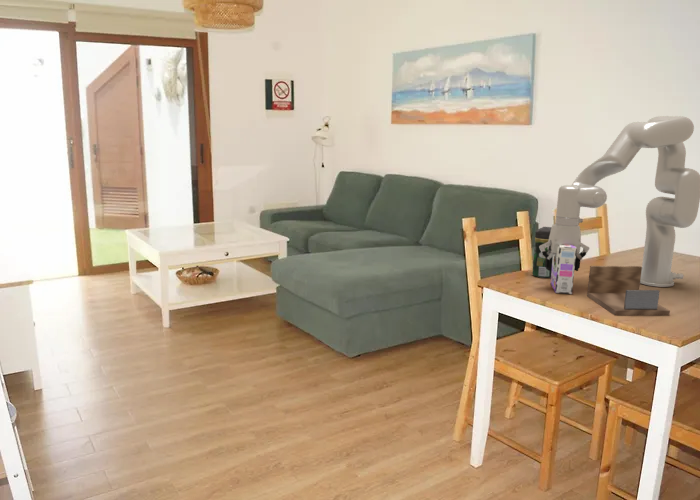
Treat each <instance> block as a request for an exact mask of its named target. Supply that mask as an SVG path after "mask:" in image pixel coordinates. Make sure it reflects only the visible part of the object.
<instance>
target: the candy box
mask: <svg viewBox="0 0 700 500" xmlns="http://www.w3.org/2000/svg"><path fill="white" fill-rule="evenodd" d="M576 251H577V248H576V247H575V246H574V245H558V248H557V254H554V255H553V259H552V272H551V278H550V285H551V288H552V289H553V291H554V293H555V294H565V295H573V291H574V290H573V288H574V286H573V285H574V279H575V260H576Z"/></svg>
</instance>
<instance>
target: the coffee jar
mask: <svg viewBox="0 0 700 500" xmlns="http://www.w3.org/2000/svg"><path fill="white" fill-rule="evenodd" d="M551 228H552V226H542V227H540V228H537V229H536V230H535V234H534V236H535V237H534V247H533V249H534V250H533V260H532V261H533V262H532V276H533V277H538V278H541V279H546V278H548V279H551V272H552V265H551V270H550V271H548V270H547V269H546V267H545V260H546V258H545V257H544V255H543V254H542V253H541V251H540V248H539V246H540V245H542V244H544V243H547V242H548V241H549V236H550V232H551ZM545 252H546V253H547V252H548V247H546V248H545ZM552 259H553V256H552V258H551V260H552Z"/></svg>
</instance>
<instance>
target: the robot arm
mask: <svg viewBox="0 0 700 500" xmlns="http://www.w3.org/2000/svg"><path fill="white" fill-rule="evenodd" d="M694 130H695V126H694V122H693V121H692V120H691V119H690V118H689V117H687V116H681V115H680V116H678V115H675V116H673V115H672V116H669V115H663V116H662V115H661V116H660V115H658V116H653V117H651V118H649V120H647V121H637V122H636V121H635V122H634V121H633V122H629V123H628V124H626V125H625V126H624V127H623V129H622V130H621V131H620V133H619V134H618V135H617V137H616V138H615V139H614V140H613V142H612V143H611V145H610V146H609V148H607V150H606V151H605V153H604V154H603V155H602V156H601V157H599V158H597V159H596V160H595V161H593V162H592V163H591V164H590V165H588V166H586V167H585V168H584V169H583V170H581V172H580V173H579V174H578V176H577V177H576V178H575V179H574V181H573V182H572V184H570V185H568V184H566V185H561V186H560V187H559V188H558V192H557V193H558V194H557V201H556V202H557V203H556V213H555V224H552V226H551V227H552V228H551V232H550V236H549V241H548V242H547V243H544V244H542V245H540V246H539V248H540V251H541V253H542V254H543V255H544V257H545V258H546V260H545V267H546V269H547V270H548V271H550V270H551V265H552V260H551V258H552V256H553V255H554V254H557V248H558V245H574V246H575V247H576V248H577V251H576V260H575V270H574V272H575V271H576V272H579V269H580V268H581V261H582V260H583V258H584V257H585V256H587V254H588V251H589V250H590V247H589V246H588V245H585V244H584V243H582V239H581V238H582V235H581V227H580V223H581V224H582V223H583V218H580V213H581V208H590V209H598V208H600V207H603V205H605V203H606V201H607V199H608V198H607V197H608V195H607V192H606V190H605V189H603V188H602V187H600V186H597V184H598V182H600V181H601V180H603V179H605V178H606V177H609V176H612V175H616V174H618V173H621V172H622V171H623V172H624V171H625V170H626V169H627V167H628V166H629V164H631V162H632V161H633V159H634V158H635V157H636V155H637V154H638V152H640V150H641V149H656V148H657V152H658V154H657V155H658V157H657V163H656V165H657V166H656V171H655V178H654V187H655V189H656V190H657V191H659V192H661V193H664V194H668V195H673V196H674V197H668V196H657V197H653V198H652V199H650V200H649V201H648V203H647V204H646V209H645V218H646V232H645V240H644V247H643V248H644V250H643V255H642V256H643V257H642V263H641V267H642V271H641V279H640V285H641V284H642V285H645V286H649V287H650V286H651V287H657V288H669V287H673V286H674V285H675V281H674V280H676V279H677V280H678V279H679V280H681V279H684V277H685V276H684V274H683V273H676V272H673V271H672V266H673V259H674V258H673V257H674V252H675V250H674V249H675V244H676V230H675V228H680V229H685V228H686V229H687V228H689V227H691V226H692V225H693V224H694V223H695V221H696V219H697V216H698V213H699V208H700V173H699V172H698V171H697V170H695V169H693V168H687V167H686V158H687V157H686V156H687V152H686V147H685V144H684V142H687V140H689V139H690V138H691V137H692V135H693V133H694ZM546 247H548V252H547V253H546V252H545V248H546ZM581 248H582V250H581Z"/></svg>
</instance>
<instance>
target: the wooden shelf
mask: <svg viewBox="0 0 700 500" xmlns="http://www.w3.org/2000/svg"><path fill="white" fill-rule="evenodd" d="M641 271H642V265H641V266H640V265H590V266H589V273H588V284H587V293H586V296H587V297H588V298H589V299H591V300H592V301H593V302H594V303H597V304H598V305H600V306H601V307H602V308H603V309H605V310H607V311H608V312H609V313H611V314H612V315H614V316H670V314H671V310H669V309H668V308H666V307H664V306H663V305H661V304H660V303H658V307H657V310H625V309H624V303H625V295H626V290H640V288H641V287H640V285H641V283H640V279H641Z"/></svg>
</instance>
